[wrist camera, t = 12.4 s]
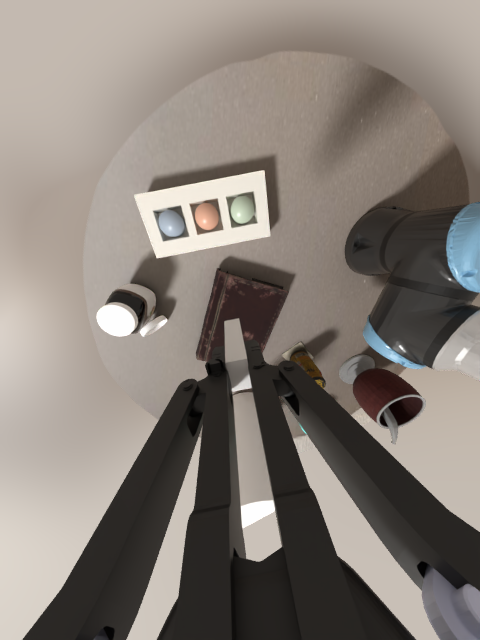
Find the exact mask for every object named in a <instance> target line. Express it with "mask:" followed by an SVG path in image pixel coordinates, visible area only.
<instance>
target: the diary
mask: <svg viewBox="0 0 480 640" xmlns="http://www.w3.org/2000/svg"><path fill="white" fill-rule="evenodd" d="M282 289H283V287H281V286H278V285H274V284H271V283H267V282H264V281H260V280H257V279H253V278H252V280H248V279H245V278H241V277H238V276H235V275H232V274H229V273H228V271H227V273H225V272H222V271H220V268H217V271H216V275H215V279H214V284H213V288H212V292H211V296H210V300H209V304H208V308H207V311H206V315H205V319H204V324H203V328H202V332H201V337H200V340H199V344H198V347H197V351H196V358H197V360H202V361H207V362H208V361H209V360H210V359H212V351H213V350H214V348H215V347H219V346H225V327H224V321H227V320H233V319H238V318H239V321H240V326H241V331H242V335H243V340H244V341H250V340H256V341H257V342H258V343H259V346H260V349H261V352H263V350H264V348H265V345H266V343H267V340H268V338H269V336H270V334H271V331H272V329H273V327H274V325H275V323H276V320H277V318H278V316H279V314H280V311H281V309H282V307H283V304H284V302H285V299H286V297H287V295H288V292H289V291H285V290H282Z"/></svg>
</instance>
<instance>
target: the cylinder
mask: <svg viewBox="0 0 480 640" xmlns="http://www.w3.org/2000/svg"><path fill="white" fill-rule="evenodd" d="M233 403H234V417H235V432H236V446H237V460H238V475H239V489H240V503H241V517H242V528H244V527H246V526H248V525H250V524H252V523H254V522H255V521H257V520H259V519H261V518H263V517H265V516H266V515H268V514H270V513H272V512H274V511H275V507H274V502H273V496H272V491H271V486H270V481H269V475H268V470H267V465H266V460H265V454H264V449H263V444H262V439H261V434H260V428H259V423H258V418H257V413H256V407H255V402H254V397H253V393H252V392H244V393H238V394H236V395H233Z"/></svg>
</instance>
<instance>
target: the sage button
mask: <svg viewBox="0 0 480 640" xmlns="http://www.w3.org/2000/svg"><path fill="white" fill-rule="evenodd" d="M230 214H231V217H232V219H233V220H234V222H236V223H238V224H244V223H246V222H248V221H249V220H250V219H251V218H252V216H253V214H254V205H253V203H252V201H251V200H250V199H249V198H248V197H246V196H239V197H237V198H236V199H235V200H234V201H233V203H232V206H231V209H230Z"/></svg>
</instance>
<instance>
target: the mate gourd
mask: <svg viewBox="0 0 480 640" xmlns="http://www.w3.org/2000/svg"><path fill="white" fill-rule="evenodd" d="M374 367H375V362H374V360H373V359H372V358H371V357H370V356H368V355H356V356H353V357H351V358H349V359H348V360H347V361H346V362H344V364H343V365H342V366H341V368H340V370H339V376H340V378H341V379H342V381H344V382H345V383H349V384H353V394H354V396H355V398H356V400H357V401H358V403H359V405H360V406H361V407H362V408H363V410H364V411H365V412H366V413H367V414H368V415H369V416H370V417H371V418H372V419H373V420H374V421H375V422H377V423H378V425H379V426H380V427H382V428H386V429H389V430H390V432H391V436H392V441H391V443H392V444H396V440H397V435H398V427H401V426H404V425H406V424H408V423H410V422H412V421H413V420H415V419H416V418H417V417H418V416H419V415H420V414H421V413H422V412H423V410H424V409H425V406H426V401H425V399H424V398H423V397H422V396H421V395H420V394H419V393H418V392H417V391H416V390H415V389H414V388H413V387H412V386H411V385H410V384H408V383H407V382H406V381H405V380H403V379H402V378H401V377H399V376H397V375H396V374H394V373H392V372H390V371H388V370H385V369H377V368H374Z"/></svg>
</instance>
